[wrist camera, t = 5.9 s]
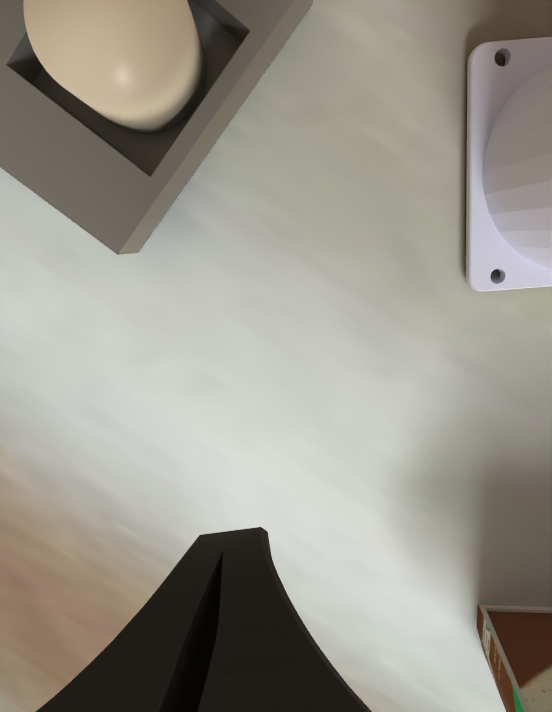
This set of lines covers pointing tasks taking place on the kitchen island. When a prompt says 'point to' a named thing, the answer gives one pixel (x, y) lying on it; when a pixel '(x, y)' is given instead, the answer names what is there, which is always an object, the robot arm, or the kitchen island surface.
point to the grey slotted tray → (120, 146)
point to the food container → (519, 654)
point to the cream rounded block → (122, 57)
